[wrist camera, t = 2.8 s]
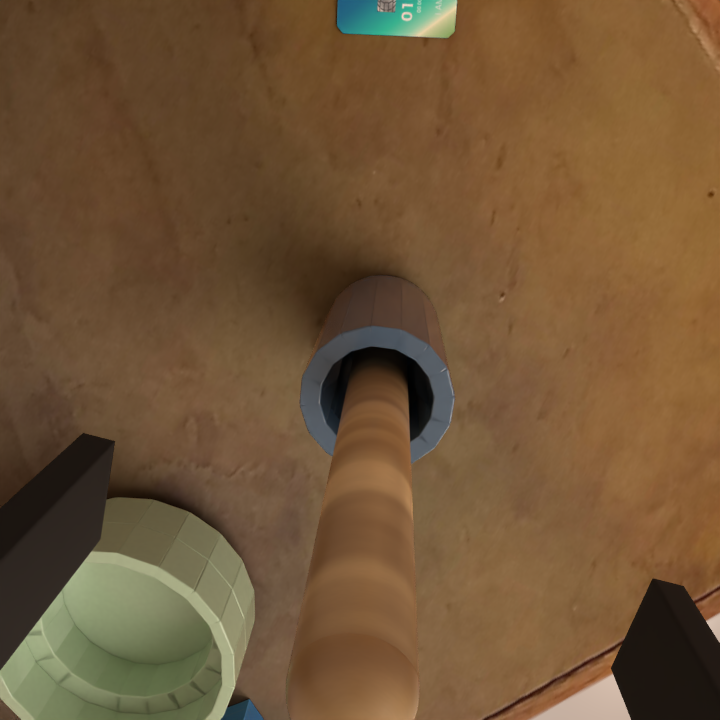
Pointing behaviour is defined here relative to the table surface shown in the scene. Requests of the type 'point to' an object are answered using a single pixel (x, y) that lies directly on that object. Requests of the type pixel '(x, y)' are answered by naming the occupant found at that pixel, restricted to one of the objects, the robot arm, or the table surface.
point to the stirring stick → (362, 562)
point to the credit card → (397, 17)
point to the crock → (385, 330)
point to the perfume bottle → (242, 712)
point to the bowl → (139, 625)
